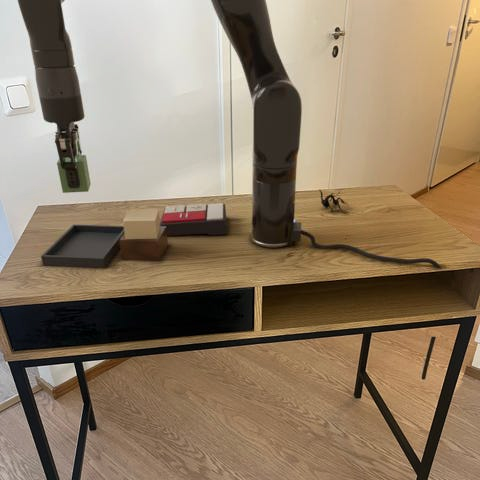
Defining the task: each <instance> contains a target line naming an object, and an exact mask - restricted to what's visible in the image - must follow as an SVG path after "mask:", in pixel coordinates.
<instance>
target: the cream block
mask: <svg viewBox="0 0 480 480" xmlns="http://www.w3.org/2000/svg"><path fill="white" fill-rule="evenodd" d="M160 222H161V218H160V210H159V208H149V209H145V208H144V209H142V208H141V209H127V211H126V213H125V216H124V218H123V220H122V224H123V225H122V226H124V232H125V239H157V237H158V233H159V230H160Z"/></svg>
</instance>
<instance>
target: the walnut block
mask: <svg viewBox="0 0 480 480" xmlns="http://www.w3.org/2000/svg"><path fill="white" fill-rule="evenodd" d="M119 241H120V254H121V259H122V260H124V261H147V262H160V261H161V259H162V257H163V255H164V253H165V251H166V249H167V248H168V246H169V241H168V236H167V229H166V226H160V230H159V233H158V237H157V239H125V233H124V235H123V236H122V237H121V238H120V240H119Z"/></svg>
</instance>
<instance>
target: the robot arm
mask: <svg viewBox="0 0 480 480" xmlns="http://www.w3.org/2000/svg"><path fill="white" fill-rule="evenodd" d="M65 1H66V0H17V4H18V7H19V10H20V13H21V17H22V20H23V23H24V26H25V28H26V31H27V35H28V39H29V46H30V50H31V51H30V52H31V56H32V61H33V66H34V74H35V84H36V88H37V93H38V97H39V103H40V108H41V113H42V118H43V121H45V122H46V123H49V124H55V125H56V131H55V132H54V137H55V138H54V144H55V145H56V146H55V147H56V150H57V154H58V160H59V159H60V163H61V167H62V169H64V170H65V172H66V177H67V182H68V187H69V188H79V187H80V182H79V176H78V170H77V167H78V165H77V161H76V157H77V156H78V155H82V153H83V151H82V145H81V139H80V130H79V124H77V122H80V121H83V120H84V119H85V108H84V103H83V98H82V90H81V86H80V80H79V75H78V72H77V68H76V65H75V64H76V63H75V57H74V52H73V45H72V41H71V40H72V39H71V37H70V34H69V32H68V31H67V29H66V24H65V18H64V12H63V11H64V10H63V6H62V4H63V3H64V2H65ZM210 2H211V5H212V7H213V10H214V13H215V15H216V17H217V19H218V21H219V23H220V26H221V27H222V29H223V32H224V33H225V35H226V38H227V39H228V41H229V43H230V44H231V46H232V48H233V50H234V52H235V54H236V55H237V57H238V60H239V62H240V64H241V67H242V70H243V73H244V76H245V81H246V83H247V87H248V91H249V93H250V94H249V95H250V99H251V105H252V110H253V113H252V116H253V118H252V119H253V122H252V123H253V126H252V127H253V136H252V139H253V140H252V187H251V189H252V193H251V195H252V197H251V198H252V201H251V202H252V205H251V207H252V208H251V210H252V211H251V212H252V213H251V226H252V227H251V242H252V243H254V245H257V246H259V247H263V248H271V249H275V248H277V249H278V248H284V247H287V246H289V247H290V246H293V245H294V242H301V239H302V236H305V237H307V238H309V240H310V242H311V243H310V244H311V245H312V246H313V247H315V248H317V249H321V250H335V249H343V250H349V251H352V252H354V253H357V254H359V255H361V256H363V257H366V258H370V259H373V260H378V261H382V262H390V263H397V264H398V263H399V264H405V265H406V264H412V265H413V264H421V263H426V264H430V265H432V266H434V268H436V269H442V267H441V265H440V264H439V262H437V261H436V260H434V259H431V258H427V257H422V258H421V257H420V258H411V259H409V258H399V257H391V256H390V257H389V256H383V255H378V254H374V253H370V252H367V251H365V250H362V249H360V248H358V247H355V246H353V245H350V244H345V243H344V244H343V243H336V244H327V245H326V244H325V245H322V244H320V243H317V242H316V239H315V236H314V235H313V234H311V233H310V232H308V231H305V230H303V229H302V222H301V221H296V219H295V212H296V211H295V208H296V186H297V168H298V167H297V166H298V155H299V152H300V143H301V132H302V131H301V129H302V115H303V114H302V113H303V104H302V98H301V95H300V92H299V91H298V89H297V88H296V87H295V85H294V84H293V82H292V80H291V78H290V76H289V75H288V72H287V70H286V68H285V66H284V63H283V60H282V58H281V57H280V54H279V51H278V49H277V46H276V42H275V39H274V34H273V29H272V24H271V18H270V12H269V8H268V5H267V1H266V0H210ZM66 158H70V159H71V162H66ZM436 339H437V337H436V336H431V337H430V341H429V345H428V347H427V348H428V349H427V353H426V356H425V360H424V363H423V369H422V373H421V380H424V381H425V380H426V379H427V373H428V369H429V366H430V365H429V364H430V361H431V357H432V353H433V349H434V346H435V341H436Z"/></svg>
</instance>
